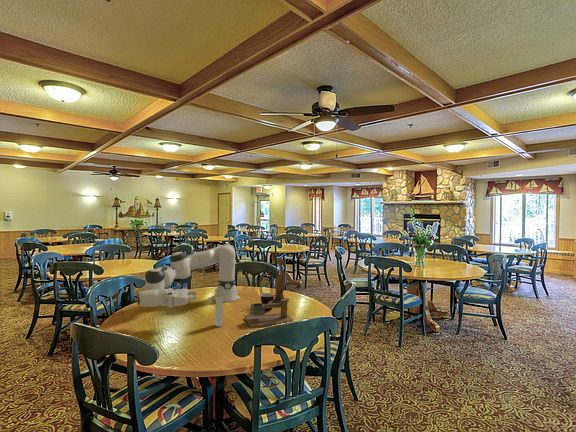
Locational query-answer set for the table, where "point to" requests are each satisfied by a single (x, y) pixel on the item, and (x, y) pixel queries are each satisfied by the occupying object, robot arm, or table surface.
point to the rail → (219, 311)
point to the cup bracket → (267, 315)
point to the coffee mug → (267, 299)
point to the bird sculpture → (280, 283)
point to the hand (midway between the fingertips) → (196, 295)
